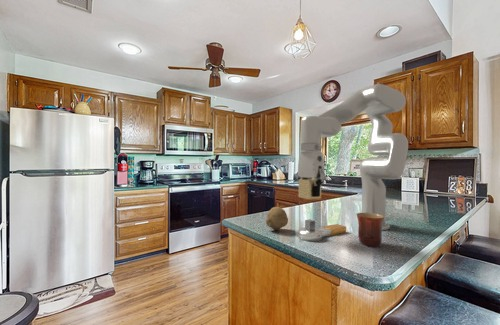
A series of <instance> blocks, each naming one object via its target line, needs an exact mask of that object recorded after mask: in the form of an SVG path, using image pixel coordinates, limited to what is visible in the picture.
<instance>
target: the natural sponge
mask: <svg viewBox="0 0 500 325" xmlns="http://www.w3.org/2000/svg"><path fill="white" fill-rule="evenodd" d="M288 222H289V218H288V215H287V212H286V211H285V210H284V209H283V207H280V206H273V207H271V209H269V211H268V212H267V215H266V218H265V224H266V226H268V227H269V228H271V229H272V230H274V231H280V230H281V229H282V228H285V227H286V226H287V224H288Z"/></svg>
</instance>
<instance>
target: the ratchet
mask: <svg viewBox="0 0 500 325" xmlns="http://www.w3.org/2000/svg"><path fill="white" fill-rule="evenodd" d="M344 232H345V233H347V226H346V225H342V224H339V223H336V224H331V225H325V226H323V227H321V228H316V221H315V220H313V219H310V218H309V219H305V220H304V227H300V228H298V229H297V238H298V239H300V240H303V241H306V242H320V241H322V240H323V238H324V237H329V236H335V235H339V233H341V234H344Z"/></svg>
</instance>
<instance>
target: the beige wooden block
mask: <svg viewBox="0 0 500 325" xmlns="http://www.w3.org/2000/svg"><path fill="white" fill-rule="evenodd" d="M316 182H317V180H316ZM313 186H314V184H313V180H312V178H308V179H299V180H298V198H301V199H305V200H320V199H322V185H321V186H320V196H319V197H313Z"/></svg>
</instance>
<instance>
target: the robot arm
mask: <svg viewBox="0 0 500 325" xmlns="http://www.w3.org/2000/svg"><path fill="white" fill-rule="evenodd" d="M406 102H407V101H406V96H405V95H404V93H402V92H401V91H399V90H397V89H396V88H393V87H390V86H389V85H385V84H382V83H376V84H372V85H369V86H368V87H363V88H361V89H358V90H357V91H356V92H354V93H353V94H351V95H350V96H348V97H347V98H346V99H345V100H343V101H342V102H340V103H339V104H337V105H335V106H333V107H332V108H330V109H328V110H326V111H324V112H322V113H321V114H319V115H318V116H316V115H308V116H307V115H306V116H303V117H302V118H301V119H300V153H299V156H298V163H297V164H298V165H297V172H296V173H295V177H296V178H297V181H299V179H312V180H313V184H314V186H313V197H319V196H320V186H321V187H322V184H323V183H324V181H325V180H326V179H327V175H326V173H325V160H324V155H323V151H322V150H321V149H322V147H323V146H322V144H321V142H322V141H321V140H322V139H321V138H329V137H330V138H331V137H334V136H336V135H338V134H339V133H340V132H341V130H342V124H345V123H347V122H350V121H351V120H354V119H355V118H356V117H358V116H359V115H360V114H361V113H363V112H364V111H365V113H366V116H367V117H368V119H369V120H370V123H371V131H370V136H369V140H368V144H367V152H368V153H369V154H370V155H372V156H371V157H366V158H364V159H363V160H362V161H361V162H360V164H359V172H360V177H361V213H374V214H379V215H382V216H384V220H383V222H382V231H386V230H389V229H390V228H391V226H390V225H389V224H388V223H387V222H389V221H390V220H391V218H390V216H386V214H387V212H386V210H387V207H386V206H387V205H386V204H387V195H386V194H387V189H386V185H385V183H384V181H383V180H398V179H400V178H401V177H402V176H403V174H404V172H405V167H406V160H407V156H408V152H409V151H408V150H409V141H408V138H407V137H406V135H405V134H403V133H401V132H394V133H393V129H394V128H393V126H394V125H393V123H392V121H391V120H390V119H389V118H388V117H387V116H386V115H387V114H393V113H397V112H400V111H402V110H403V109H404V108H405V107H406V104H407V103H406ZM376 156H377V157H376ZM316 180H317V182H316ZM357 223H358V226H359V222H358V221H357Z"/></svg>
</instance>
